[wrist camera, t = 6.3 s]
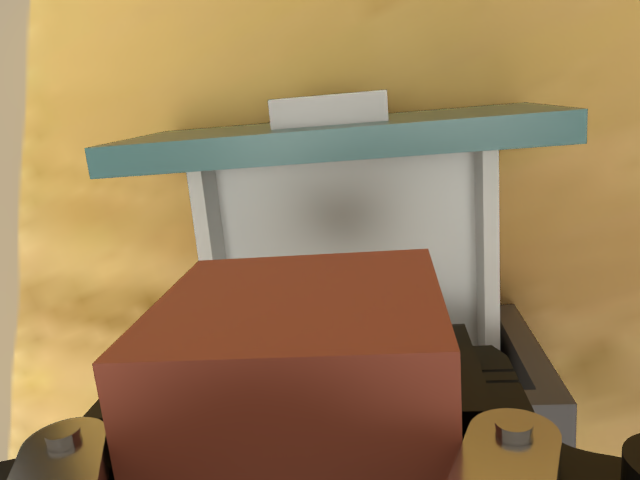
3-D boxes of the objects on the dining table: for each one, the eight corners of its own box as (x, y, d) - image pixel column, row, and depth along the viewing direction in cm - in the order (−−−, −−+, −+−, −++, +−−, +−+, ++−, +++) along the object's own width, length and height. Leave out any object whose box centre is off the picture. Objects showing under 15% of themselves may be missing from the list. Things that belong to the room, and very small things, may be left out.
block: (427, 248, 12) (460, 351, 8) (435, 455, 14) (467, 658, 9) (199, 260, 13) (92, 364, 8) (226, 458, 14) (147, 650, 9)
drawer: (525, 77, 24) (588, 73, 17) (524, 397, 27) (575, 506, 20) (162, 108, 26) (79, 116, 18) (205, 405, 29) (149, 508, 22)
